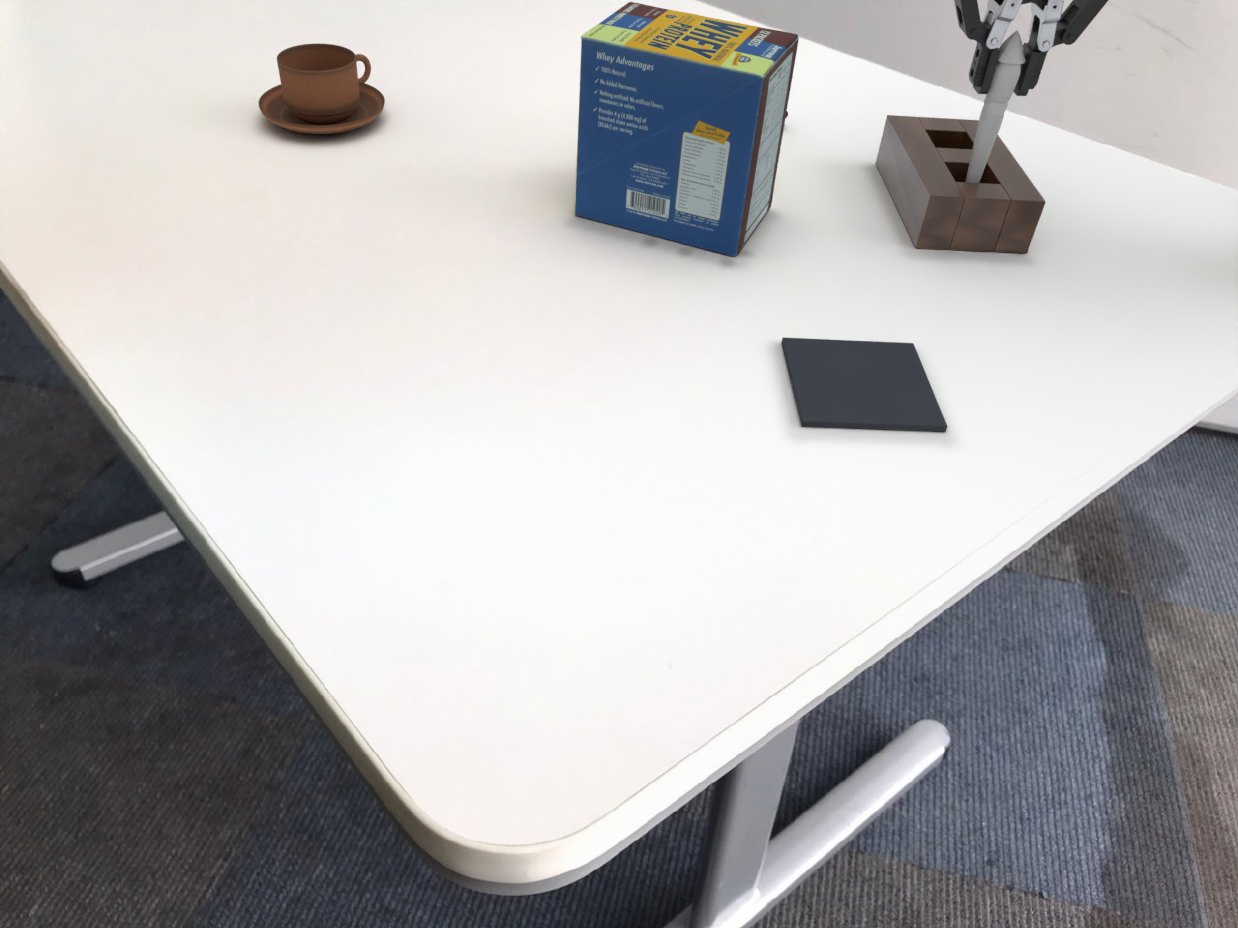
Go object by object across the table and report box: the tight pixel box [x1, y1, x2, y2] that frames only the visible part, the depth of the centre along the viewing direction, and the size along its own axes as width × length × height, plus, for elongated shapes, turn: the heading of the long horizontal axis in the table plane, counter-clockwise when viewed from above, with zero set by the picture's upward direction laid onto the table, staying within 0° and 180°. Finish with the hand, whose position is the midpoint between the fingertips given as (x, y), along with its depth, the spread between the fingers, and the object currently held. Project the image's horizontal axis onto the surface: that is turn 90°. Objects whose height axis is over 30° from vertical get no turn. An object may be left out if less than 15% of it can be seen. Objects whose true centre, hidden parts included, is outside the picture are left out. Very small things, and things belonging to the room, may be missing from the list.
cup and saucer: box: [258, 43, 386, 135], centre depth 99 cm, size 12×12×6 cm
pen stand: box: [875, 114, 1046, 254], centre depth 94 cm, size 10×17×5 cm, turn 1°
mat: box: [781, 337, 948, 433], centre depth 73 cm, size 10×10×1 cm
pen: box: [965, 30, 1026, 183], centre depth 86 cm, size 2×3×14 cm
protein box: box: [573, 1, 800, 257], centre depth 86 cm, size 10×15×16 cm
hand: (999, 90), depth 85 cm, fingers closed on pen, 2 cm apart
